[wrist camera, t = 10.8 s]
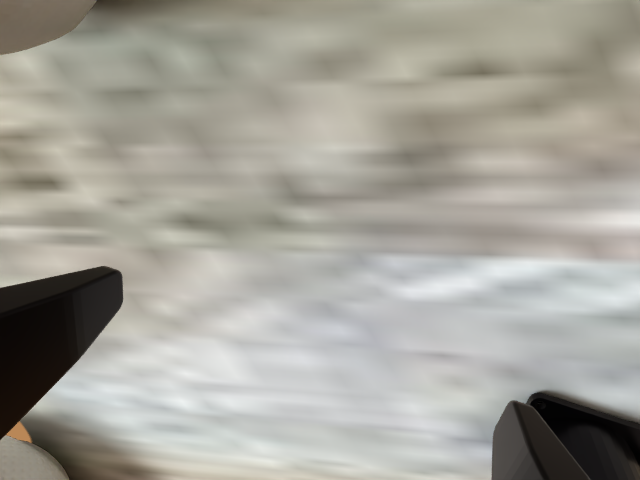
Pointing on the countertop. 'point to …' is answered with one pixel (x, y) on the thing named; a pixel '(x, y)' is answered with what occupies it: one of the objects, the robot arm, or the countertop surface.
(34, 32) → the grey bottle
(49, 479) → the cereal bowl
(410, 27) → the countertop surface
